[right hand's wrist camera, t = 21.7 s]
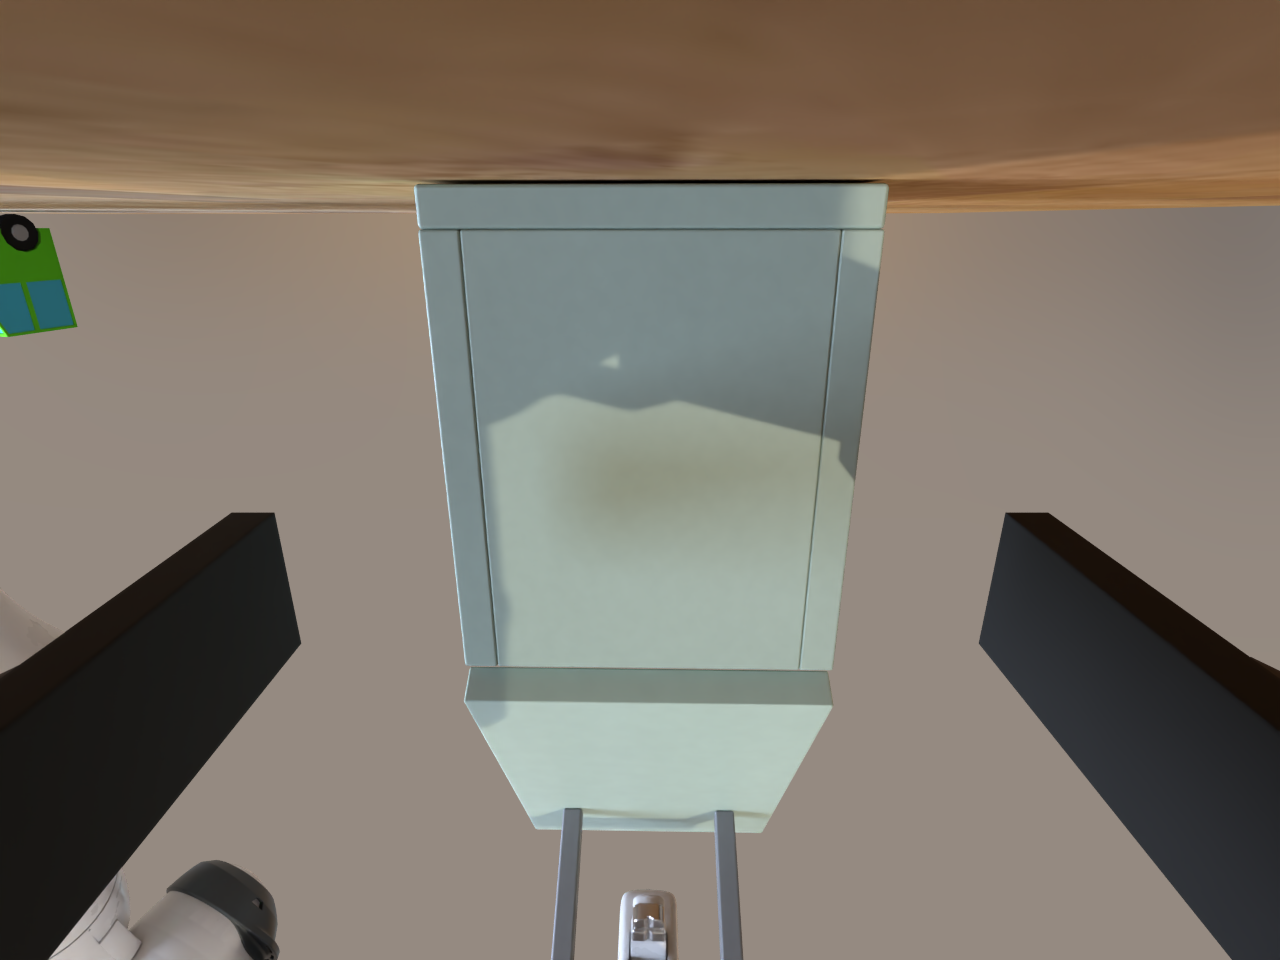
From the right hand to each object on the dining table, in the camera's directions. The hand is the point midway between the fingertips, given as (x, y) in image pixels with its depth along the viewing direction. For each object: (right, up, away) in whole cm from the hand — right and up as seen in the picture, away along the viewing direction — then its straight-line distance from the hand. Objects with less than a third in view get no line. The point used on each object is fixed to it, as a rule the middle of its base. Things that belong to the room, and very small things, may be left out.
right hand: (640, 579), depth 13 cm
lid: (0, -7, +11) cm, 13 cm away
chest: (0, +10, +7) cm, 12 cm away
